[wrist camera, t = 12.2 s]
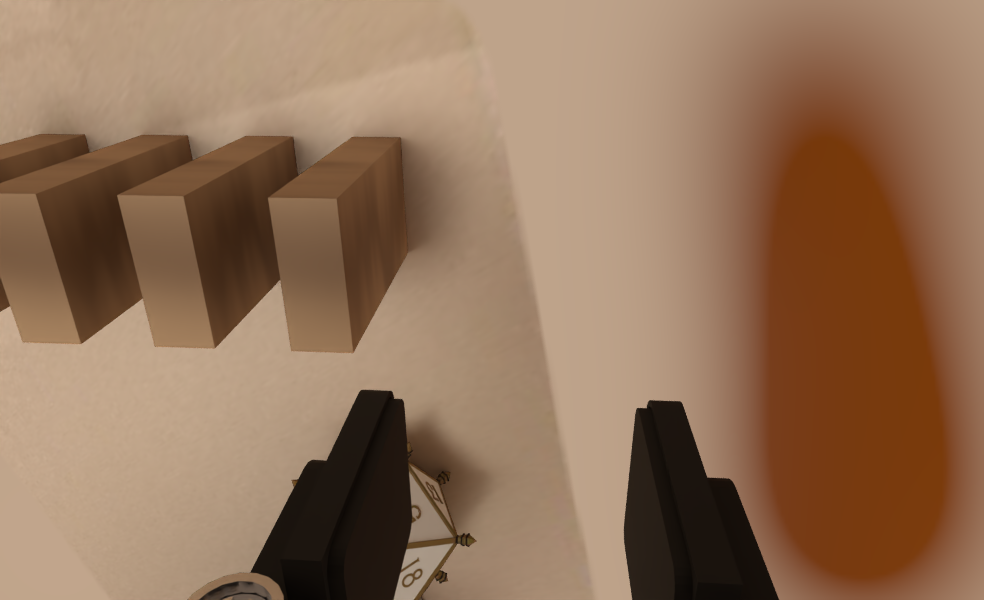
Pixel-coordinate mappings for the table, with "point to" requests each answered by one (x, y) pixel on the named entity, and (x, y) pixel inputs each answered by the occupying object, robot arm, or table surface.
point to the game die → (426, 535)
